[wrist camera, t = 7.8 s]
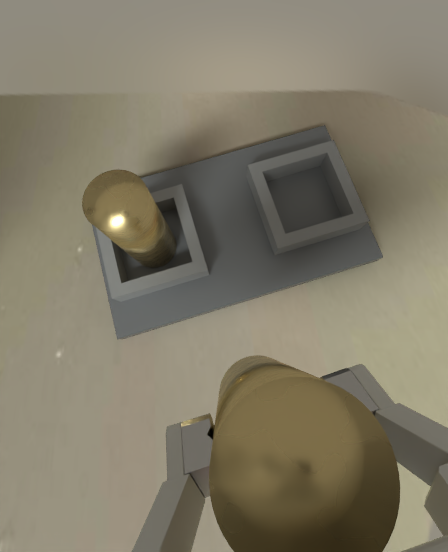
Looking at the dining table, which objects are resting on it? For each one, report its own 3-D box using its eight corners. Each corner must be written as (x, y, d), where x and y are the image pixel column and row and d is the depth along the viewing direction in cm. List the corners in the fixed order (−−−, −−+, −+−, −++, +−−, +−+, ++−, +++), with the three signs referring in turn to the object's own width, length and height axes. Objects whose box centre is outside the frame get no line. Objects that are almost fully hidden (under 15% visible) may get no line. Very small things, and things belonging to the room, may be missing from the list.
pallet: (122, 339, 26) (107, 339, 23) (91, 199, 29) (74, 182, 26) (376, 260, 27) (395, 250, 24) (321, 133, 30) (331, 109, 26)
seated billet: (138, 273, 26) (89, 239, 17) (127, 232, 27) (76, 180, 18) (181, 260, 26) (155, 220, 17) (170, 220, 27) (140, 162, 18)
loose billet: (232, 449, 14) (242, 622, 6) (209, 368, 15) (186, 408, 6) (308, 424, 15) (432, 552, 6) (282, 345, 15) (355, 353, 7)
